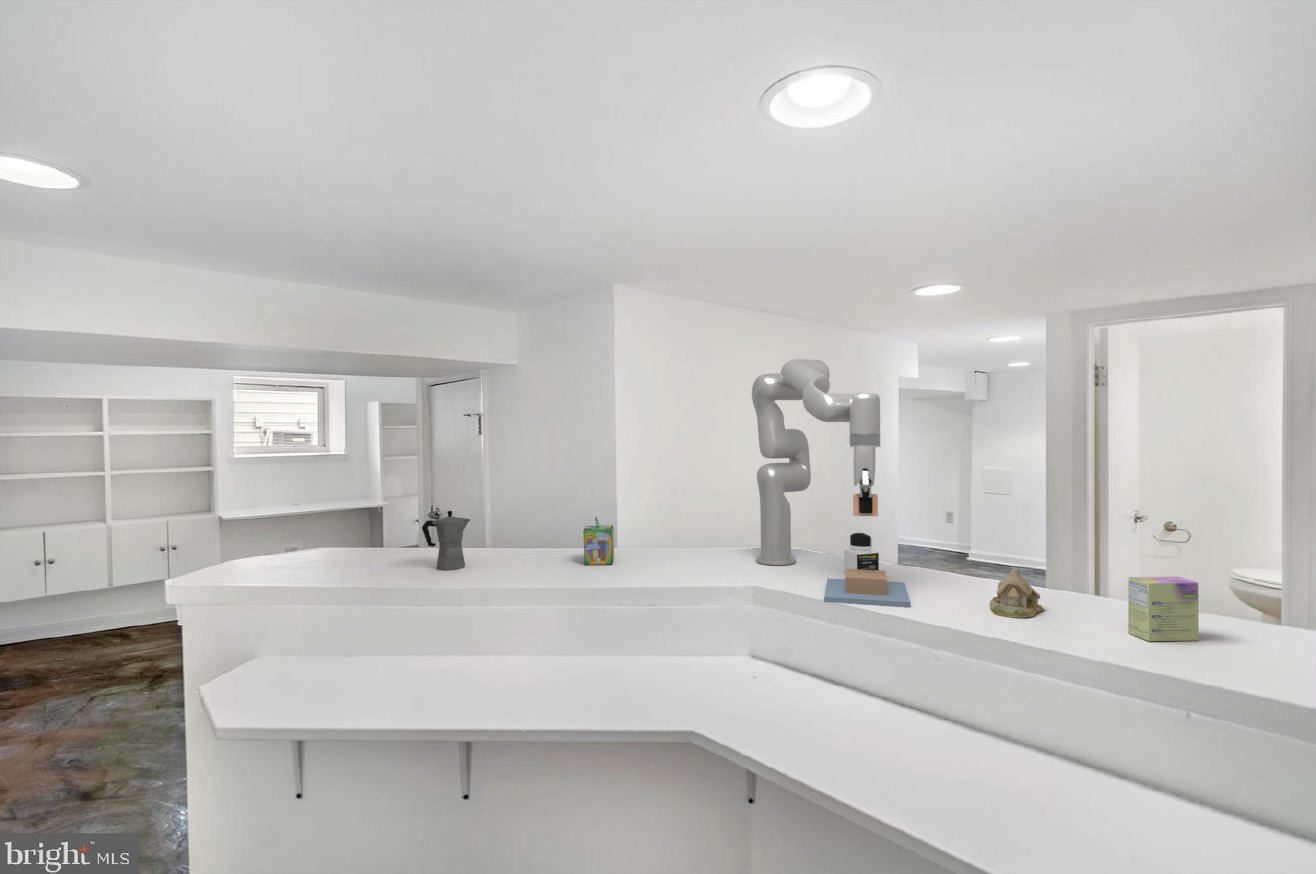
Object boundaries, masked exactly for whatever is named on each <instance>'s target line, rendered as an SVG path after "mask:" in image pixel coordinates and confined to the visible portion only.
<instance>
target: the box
mask: <svg viewBox="0 0 1316 874" xmlns="http://www.w3.org/2000/svg"><path fill="white" fill-rule="evenodd" d="M1127 593H1128V594H1127V597H1128V598H1127V621H1128V623H1127V625H1128V626H1127V627H1128V628H1127V632H1128V634H1129V635H1132V636H1134V637H1137V638H1139V639H1141V640H1144V641H1147V642H1172V641H1173V642H1181V641H1182V642H1187V641H1188V642H1189V641H1190V642H1192V641H1194V642H1196V641H1197V642H1198V641H1199V636H1200V635H1199V626H1200V625H1199V582H1198V581H1195V580H1192V579H1187V578H1184V577H1180V576H1128V577H1127Z"/></svg>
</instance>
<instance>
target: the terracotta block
mask: <svg viewBox="0 0 1316 874" xmlns="http://www.w3.org/2000/svg"><path fill="white" fill-rule="evenodd" d="M878 496H879V495H878V493H871V497H872V513H859V497H860V493H852V514H853V515H852V516H855V517H879V497H878Z"/></svg>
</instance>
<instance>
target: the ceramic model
mask: <svg viewBox="0 0 1316 874" xmlns="http://www.w3.org/2000/svg"><path fill="white" fill-rule="evenodd" d="M1040 599H1041V595H1040V593H1038V592H1037V591H1036V590H1035V589H1034V588H1033V587H1032V586H1030V584H1029V583H1028V581H1027V580H1026V579H1025V578H1024V577H1023V575H1021V573H1020V572H1019V568H1018V567H1012V568H1011V571H1010V572H1009V573H1008V575H1007V576H1006V577H1005V578H1003V579H1002V580H1000V581H999V582H998V583H997V590H996V596H993V597H992V598H991V600H990V601H989V609H990V610H991V612H992V614H994V615H997V616H1001V617H1008V618H1016V619H1017V618H1018V619H1019V618H1020V619H1022V618H1023V619H1025V618H1026V619H1028V618H1033V617H1035V616H1036V614H1038V613H1040V612H1043V611H1044V609H1045V608H1044V607H1043V605H1041V604H1039V603H1038V602H1039V600H1040Z"/></svg>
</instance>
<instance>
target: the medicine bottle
mask: <svg viewBox="0 0 1316 874" xmlns="http://www.w3.org/2000/svg"><path fill="white" fill-rule="evenodd" d="M849 541H850V544H849V546H850V548H844V549H843V564H844V565H843V566H844V568H843V569H844V570H843V572H844V574H846V569H860V570H880V568H879V565H880V562H879V559H880V557H879V556H880V553H879V551H877V550H873V536H872V535H871V534H869V533H867V532H866V533H865V532H854V533H852V534H850V535H849Z"/></svg>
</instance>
